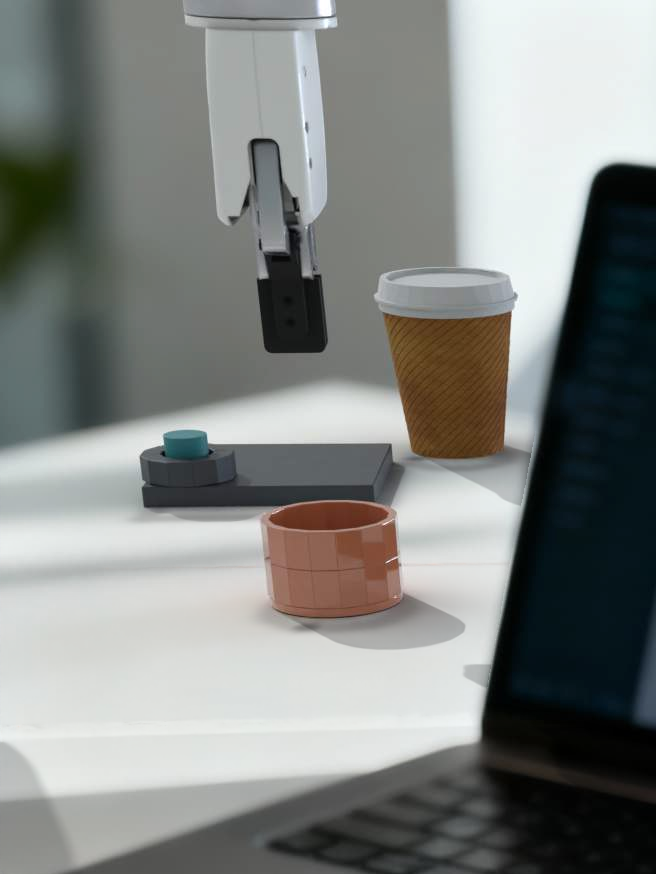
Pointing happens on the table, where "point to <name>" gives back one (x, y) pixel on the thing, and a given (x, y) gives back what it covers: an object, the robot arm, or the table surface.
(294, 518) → the pink cylindrical container
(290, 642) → the table surface
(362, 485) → the dark grey flat block
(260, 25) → the robot arm
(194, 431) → the button
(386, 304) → the disposable coffee cup
